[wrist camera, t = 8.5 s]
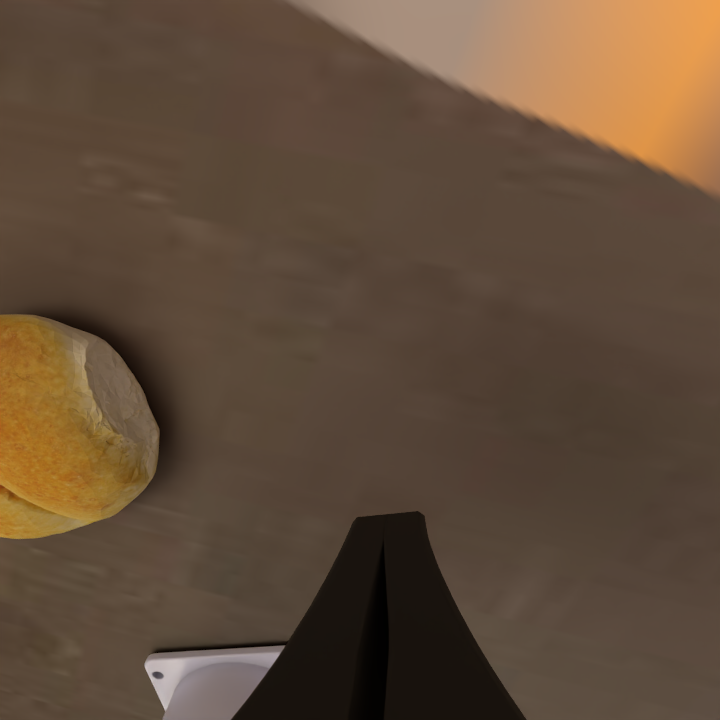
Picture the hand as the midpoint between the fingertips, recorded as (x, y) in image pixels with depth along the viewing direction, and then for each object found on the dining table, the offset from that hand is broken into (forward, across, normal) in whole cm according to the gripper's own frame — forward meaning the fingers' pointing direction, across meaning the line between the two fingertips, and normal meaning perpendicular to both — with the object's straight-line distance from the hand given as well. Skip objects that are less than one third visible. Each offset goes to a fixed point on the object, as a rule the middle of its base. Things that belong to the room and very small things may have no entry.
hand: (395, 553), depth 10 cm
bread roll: (+8, +13, -1) cm, 16 cm away
